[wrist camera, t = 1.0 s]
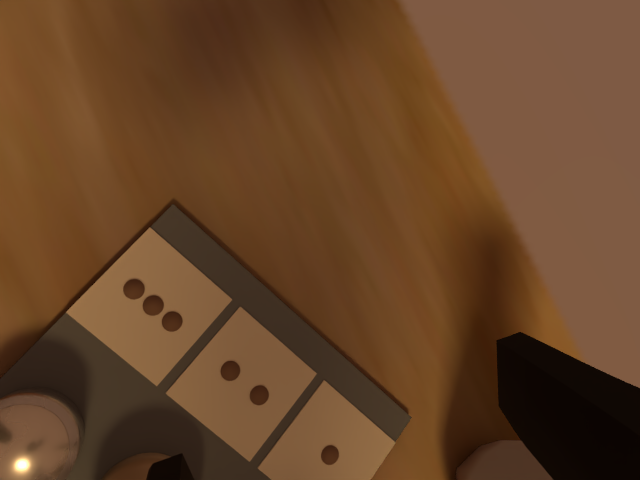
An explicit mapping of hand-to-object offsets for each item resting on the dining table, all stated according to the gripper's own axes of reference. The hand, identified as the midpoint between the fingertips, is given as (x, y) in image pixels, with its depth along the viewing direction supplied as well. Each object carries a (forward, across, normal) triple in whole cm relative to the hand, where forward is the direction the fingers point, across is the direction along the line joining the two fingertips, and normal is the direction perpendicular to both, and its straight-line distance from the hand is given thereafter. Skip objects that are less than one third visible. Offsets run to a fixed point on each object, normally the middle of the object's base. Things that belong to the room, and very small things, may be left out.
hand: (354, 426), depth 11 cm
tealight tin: (+10, +11, +6) cm, 16 cm away
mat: (+10, +5, +9) cm, 14 cm away
